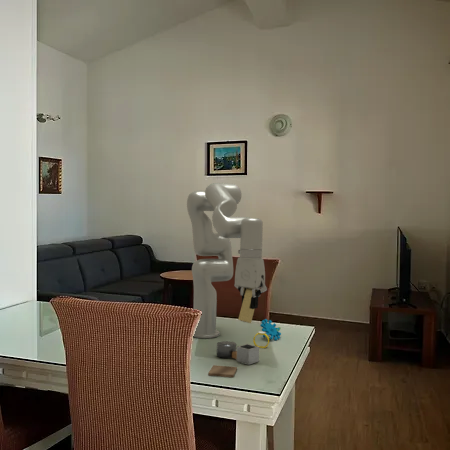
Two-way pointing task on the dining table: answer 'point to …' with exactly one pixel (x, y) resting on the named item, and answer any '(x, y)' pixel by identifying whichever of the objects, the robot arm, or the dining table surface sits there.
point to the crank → (238, 352)
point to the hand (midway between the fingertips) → (249, 307)
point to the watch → (261, 334)
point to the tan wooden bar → (246, 307)
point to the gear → (270, 329)
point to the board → (222, 371)
